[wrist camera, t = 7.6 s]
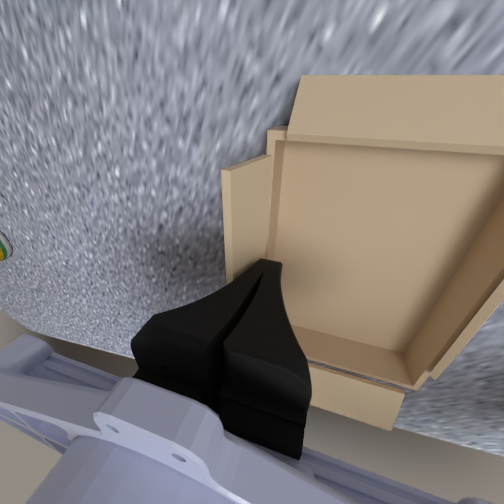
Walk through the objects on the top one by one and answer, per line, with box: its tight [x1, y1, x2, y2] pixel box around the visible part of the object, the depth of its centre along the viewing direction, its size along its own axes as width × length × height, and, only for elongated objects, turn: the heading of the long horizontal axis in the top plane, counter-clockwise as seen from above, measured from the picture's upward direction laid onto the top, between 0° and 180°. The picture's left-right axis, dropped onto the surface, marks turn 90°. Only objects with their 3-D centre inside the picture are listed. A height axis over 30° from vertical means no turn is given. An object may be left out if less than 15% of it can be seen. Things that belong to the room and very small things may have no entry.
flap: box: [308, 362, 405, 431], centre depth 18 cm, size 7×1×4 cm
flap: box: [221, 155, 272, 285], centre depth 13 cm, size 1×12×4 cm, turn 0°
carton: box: [265, 75, 504, 391], centre depth 14 cm, size 14×18×4 cm
